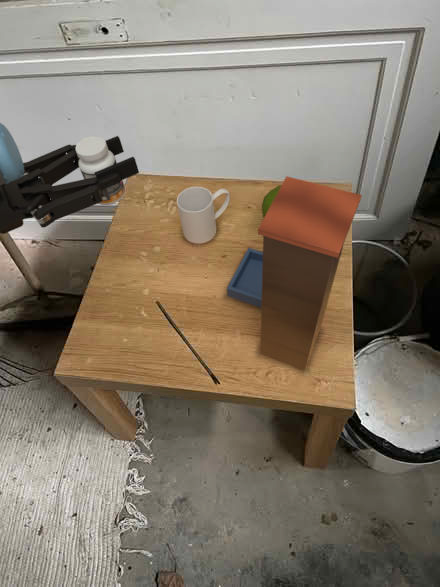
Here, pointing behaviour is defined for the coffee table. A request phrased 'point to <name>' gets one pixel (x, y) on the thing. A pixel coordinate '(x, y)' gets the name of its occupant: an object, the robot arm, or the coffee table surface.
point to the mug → (199, 213)
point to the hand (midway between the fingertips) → (128, 154)
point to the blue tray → (248, 279)
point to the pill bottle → (98, 165)
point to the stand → (300, 265)
